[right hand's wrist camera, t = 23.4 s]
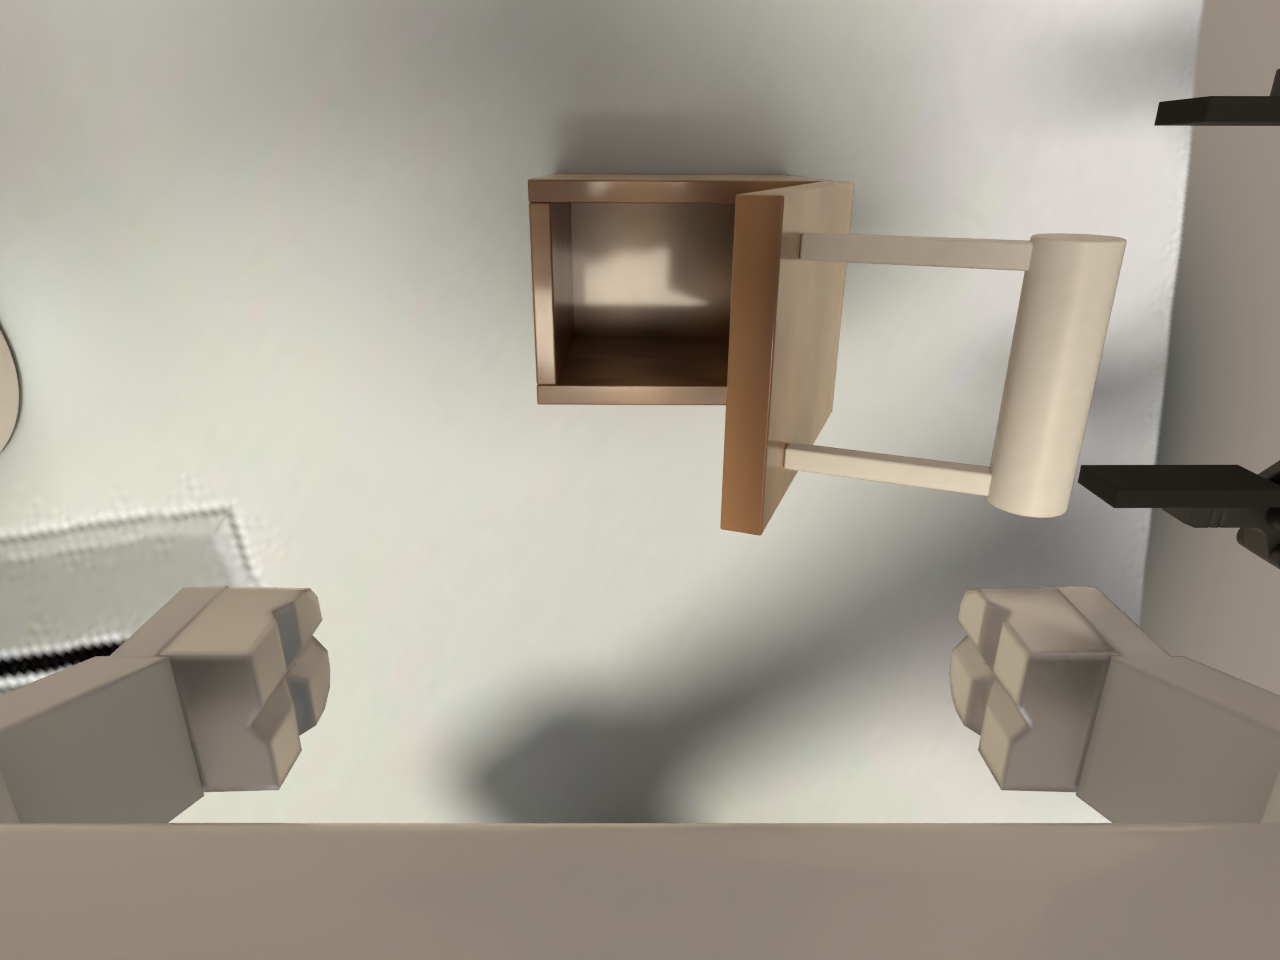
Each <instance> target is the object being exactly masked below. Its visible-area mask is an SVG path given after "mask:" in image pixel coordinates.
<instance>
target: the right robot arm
mask: <svg viewBox="0 0 1280 960" xmlns="http://www.w3.org/2000/svg"><path fill="white" fill-rule="evenodd" d="M18 408H19V386H18V378H17V373H16V368H15V365H14V361H13V358H12V355H11V352H10V350H9V347H8V345H7V343H6V340H5V338H4V336H3V334H2V332H1V330H0V452H1V451H2V450H3V448H4V447H5V445H6V444H7V442H8V440H9V438H10V437H11V434H12V432H13V430H14V427H15V423H16V420H17V415H18ZM321 621H322V616H321V611H320V607H319V602H318V597H317V596H316V595H315V593H314V592H313V591H312V590H311V589H310V588H263V587H228V586H211V587H189V588H183V589H181V590H180V591H179V592H178V593H177V594H176V595H175V596H174V597H173V598H172V599H171V600H170V601H168V602H167V603H166V604H165V605H164V606H163V607H162V608H161V609H160V610H159V611H158V612H157V613H156V614H154V615H153V616H152V617H151V618H150V619H149V620H148V621H147V622H146V623H145V624H144V625H143V626H142V627H140V628H139V629H138V630H137V631H136V632H135V633H134V634H133V635H132V636H131V637H130V638H129V639H128V640H126V641H125V642H124V643H123V644H122V645H121V646H120V647H119V648H118V649H117V650H116V651H115V652H113V653H112V654H111V655H110V656H96V657H93V658H91V659H88V660H86V661H84V662H81V663H79V664H76V665H74V666H71V667H69V668H66V669H64V670H62V671H59V672H57V673H54V674H52V675H49V676H47V677H44V678H42V679H40V680H37V681H35V682H32V683H30V684H27V685H25V686H22V687H20V688H18V689H15V690H13V691H10V692H8V693H5V694H3V695H0V960H1280V696H1279V695H1277V694H1274V693H1272V692H1270V691H1267V690H1265V689H1262V688H1260V687H1257V686H1255V685H1253V684H1250V683H1248V682H1245V681H1243V680H1240V679H1238V678H1235V677H1233V676H1231V675H1228V674H1226V673H1223V672H1221V671H1218V670H1216V669H1213V668H1211V667H1208V666H1206V665H1204V664H1201V663H1199V662H1196V661H1194V660H1192V659H1189V658H1187V657H1183V656H1170V655H1169V654H1168V653H1167V652H1165V651H1164V650H1163V649H1162V648H1161V647H1160V646H1159V645H1158V644H1157V643H1156V642H1155V641H1154V640H1153V639H1152V638H1150V637H1149V636H1148V635H1147V634H1146V633H1145V632H1144V631H1143V630H1142V629H1141V628H1140V627H1139V626H1138V625H1136V624H1135V623H1134V622H1133V621H1132V620H1131V619H1130V618H1129V617H1128V616H1127V615H1126V614H1125V613H1124V612H1122V611H1121V610H1120V609H1119V608H1118V607H1117V606H1116V605H1115V604H1114V603H1113V602H1112V601H1111V600H1110V599H1109V598H1107V597H1106V596H1105V595H1104V594H1103V593H1102V592H1101V591H1100V590H1099V589H1096V588H1093V587H1090V586H1074V587H1027V588H985V589H971V590H966V592H965V595H964V597H963V599H962V601H961V605H960V610H959V616H958V621H959V623H960V624H961V626H962V627H963V629H964V630H965V632H966V634H967V636H966V637H965V638H964V639H963V640H962V641H961V642H960V643H959V644H958V646H957V647H956V648H955V649H954V650H953V651H952V659H951V666H950V685H951V696H952V699H953V702H954V705H955V709H956V711H957V713H958V715H959V717H960V719H961V721H962V722H963V724H964V725H965V726H966V727H968V728H969V729H971V730H973V731H974V732H976V733H977V734H979V735H981V738H980V743H979V749H978V751H979V752H980V754H981V756H982V758H983V759H984V761H985V763H986V764H987V766H988V768H989V770H990V771H991V773H992V775H993V776H994V778H995V780H996V782H997V783H998V785H999V787H1000V788H1001V790H1018V791H1055V792H1076V796H1077V797H1079V798H1080V799H1081V800H1083V801H1084V802H1085V803H1087V804H1088V805H1089V806H1091V807H1092V808H1093V809H1095V810H1096V811H1097V812H1099V813H1100V814H1101V815H1103V816H1104V817H1105V818H1107V819H1108V820H1109V821H1111V822H1112V823H168V822H170V821H171V820H172V819H174V818H175V817H176V816H178V815H179V814H180V813H182V812H183V811H184V810H186V809H187V808H188V807H190V806H191V805H192V804H194V803H195V802H196V801H198V800H199V799H200V798H202V797H203V796H204V793H203V792H224V791H260V790H279V789H280V787H281V785H282V783H283V782H284V780H285V778H286V777H287V775H288V773H289V771H290V770H291V768H292V766H293V764H294V763H295V761H296V759H297V758H298V756H299V754H300V752H301V751H302V749H301V743H300V738H299V735H301V734H303V733H304V732H306V731H307V730H309V729H311V728H312V727H314V726H315V725H316V724H317V722H318V721H319V719H320V717H321V715H322V713H323V711H324V709H325V706H326V701H327V697H328V693H329V688H330V664H329V658H328V651H327V650H326V649H325V648H324V647H323V646H322V645H321V643H320V642H319V641H318V640H317V639H316V638H315V637H314V636H313V634H314V632H315V630H316V629H317V627H318V626H319V624H320V623H321Z"/></svg>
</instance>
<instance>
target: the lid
mask: <svg viewBox="0 0 1280 960" xmlns="http://www.w3.org/2000/svg"><path fill="white" fill-rule="evenodd" d="M853 192H854V182H838V181H822V182H816V183H809V184H803V185H796V186H790V187H783V188H776V189H770V190H763V191H757V192H750V193H744V194H738V195H736V203H735V224H734V246H733V268H732V289H731V311H730V332H729V354H728V376H727V397H726V419H725V441H724V462H723V484H722V505H721V529H724V530H730V531H736V532H742V533H748V534H754V535H761V534H762V533H763V531H764V529H765V527H766V526H767V524H768V522H769V520H770V519H771V517H772V515H773V513H774V512H775V510H776V508H777V506H778V505H779V503H780V501H781V499H782V498H783V496H784V494H785V492H786V491H787V489H788V487H789V485H790V484H791V482H792V480H793V479H794V477H795V475H796V473H797V472H798V471H805V472H812V473H820V474H827V475H835V476H842V477H849V478H857V479H864V480H872V481H879V482H886V483H894V484H901V485H909V486H916V487H923V488H931V489H938V490H946V491H953V492H960V493H968V494H975V495H983V496H985V497H986V500H987V501H988V502H989V503H990V504H991V505H993V506H994V507H996V508H998V509H1001V510H1003V511H1006V512H1009V513H1012V514H1016V515H1021V516H1027V517H1037V518H1049V517H1056V516H1060V515H1062V514H1064V513H1065V512H1066V511H1067V509H1068V505H1069V501H1070V496H1071V491H1072V487H1073V482H1074V478H1075V473H1076V469H1077V464H1078V460H1079V455H1080V451H1081V446H1082V442H1083V437H1084V433H1085V428H1086V423H1087V419H1088V414H1089V410H1090V405H1091V401H1092V396H1093V392H1094V387H1095V383H1096V378H1097V374H1098V369H1099V365H1100V360H1101V355H1102V351H1103V346H1104V342H1105V337H1106V333H1107V328H1108V324H1109V319H1110V315H1111V310H1112V306H1113V301H1114V296H1115V292H1116V287H1117V283H1118V278H1119V274H1120V269H1121V265H1122V260H1123V256H1124V251H1125V247H1126V240H1125V239H1123V238H1119V237H1112V236H1102V235H1087V234H1037V235H1033V236H1032V237H1031V239H1030V241H1024V240H996V239H969V238H941V237H914V236H886V235H859V234H849V233H850V223H851V213H852V202H853ZM847 262H852V263H873V264H894V265H915V266H936V267H957V268H978V269H998V270H1019V271H1025V273H1024V279H1023V284H1022V290H1021V296H1020V301H1019V307H1018V313H1017V318H1016V324H1015V329H1014V335H1013V341H1012V346H1011V352H1010V358H1009V363H1008V369H1007V375H1006V380H1005V386H1004V391H1003V397H1002V403H1001V408H1000V414H999V420H998V425H997V431H996V436H995V442H994V448H993V453H992V459H991V465H990V467H985V466H977V465H969V464H961V463H953V462H945V461H937V460H929V459H920V458H912V457H904V456H896V455H888V454H880V453H872V452H864V451H856V450H848V449H840V448H832V447H824V446H815V445H813V444H814V442H815V440H816V438H817V437H818V435H819V433H820V431H821V430H822V428H823V426H824V424H825V423H826V421H827V419H828V417H829V416H830V414H831V412H832V408H833V398H834V388H835V377H836V367H837V357H838V346H839V336H840V326H841V316H842V305H843V295H844V285H845V274H846V264H847Z"/></svg>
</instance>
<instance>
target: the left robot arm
mask: <svg viewBox="0 0 1280 960" xmlns="http://www.w3.org/2000/svg"><path fill="white" fill-rule="evenodd" d="M1155 125H1193V126H1280V69H1278V70H1277V71H1276V75H1275V78H1274V83H1273V86H1272V90H1271V94H1270V96H1208V97H1199V98H1191V99H1182V100H1173V101H1165V102H1159V106H1158V111H1157V116H1156V120H1155ZM1078 483H1080V484H1081V485H1083V486H1084V487H1085V488H1087V489H1088V490H1090V491H1091V492H1092V493H1094V494H1095V495H1097V496H1098V497H1099V498H1101V499H1102V500H1104V501H1105V502H1106V503H1108V504H1109V505H1111V506H1112V507H1113V508H1162V509H1163V510H1164V511H1166V512H1167V513H1169V514H1171V515H1172V516H1174V517H1175V518H1177V519H1178V520H1180V521H1181V522H1183V523H1185V524H1187V525H1190V526H1192V527H1195V528H1208V527H1211V528H1218V527H1222V528H1227V527H1241V528H1240V529H1239V531H1238V533H1237V541H1238V543H1239V544H1240V545H1242V546H1243V547H1245V548H1247V549H1248V550H1250V551H1251V552H1253V553H1254V554H1256V555H1258V556H1259V557H1261V558H1262V559H1264V560H1266V561H1267V562H1269V563H1270V564H1272V565H1274V566H1275V567H1277V568H1279V569H1280V461H1278V462H1277V463H1275V464H1273V465H1272V466H1270V467H1269V468H1267V469H1266V470H1264V471H1263V472H1261V473H1260V474H1258V475H1257V474H1255V473H1253V472H1251V471H1249V470H1247V469H1245V468H1243V467H1241V466H1239V465H1081V470H1080V474H1079V479H1078Z"/></svg>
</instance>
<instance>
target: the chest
mask: <svg viewBox="0 0 1280 960" xmlns="http://www.w3.org/2000/svg"><path fill="white" fill-rule="evenodd" d="M822 181H829V180H821V179H813V178H806V177H798V176H790V175H744V174H553V175H548V176H543V177H538V178H534V179H529V180H528V196H529V202H530V203H529V217H530V240H531V263H532V286H533V309H534V331H535V354H536V377H537V384H538V385H537V402H538V404H584V405H726V397H727V376H728V354H729V332H730V311H731V289H732V268H733V246H734V224H735V203H736V195H738V194H744V193H750V192H757V191H763V190H770V189H776V188H783V187H790V186H796V185H803V184H809V183H816V182H822Z"/></svg>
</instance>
